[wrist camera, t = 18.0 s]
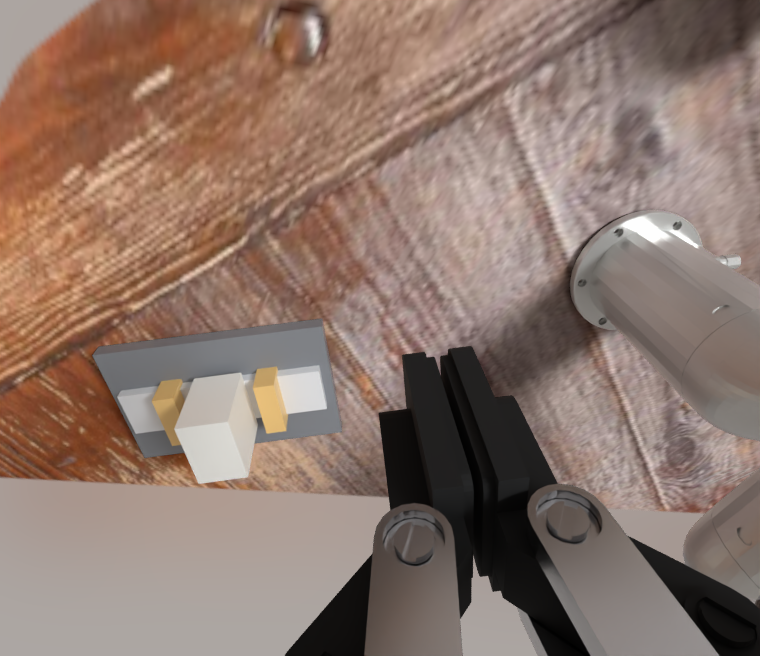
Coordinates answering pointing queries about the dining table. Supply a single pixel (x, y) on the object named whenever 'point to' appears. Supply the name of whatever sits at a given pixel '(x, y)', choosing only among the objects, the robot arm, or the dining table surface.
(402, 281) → the dining table surface
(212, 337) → the rail board
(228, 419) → the block
